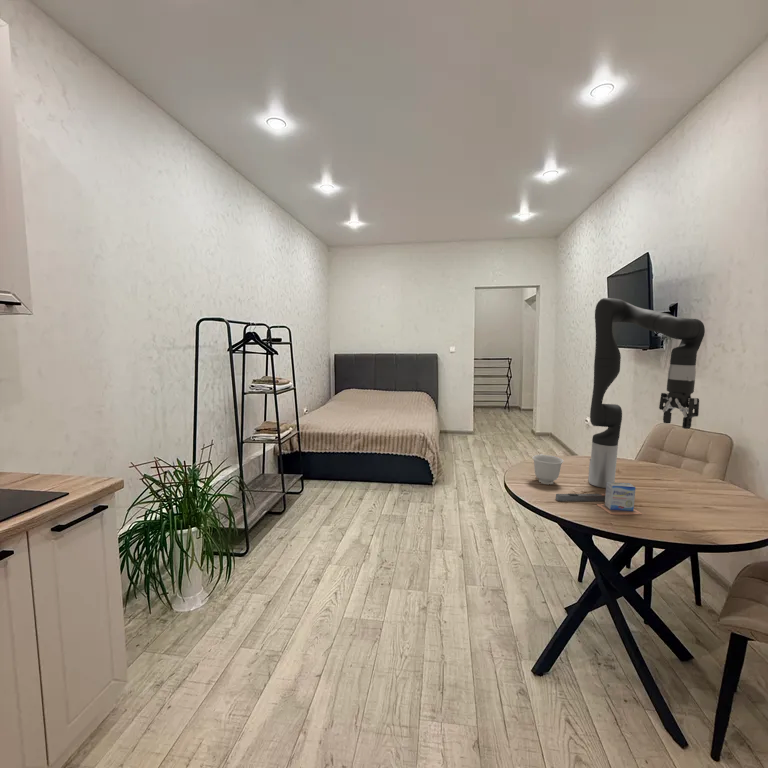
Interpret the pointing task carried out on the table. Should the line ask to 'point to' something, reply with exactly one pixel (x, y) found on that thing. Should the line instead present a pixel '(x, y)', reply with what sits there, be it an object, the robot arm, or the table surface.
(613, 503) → the medicine box
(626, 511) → the pad
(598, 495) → the rail
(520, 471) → the table surface
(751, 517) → the table surface
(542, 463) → the teacup
